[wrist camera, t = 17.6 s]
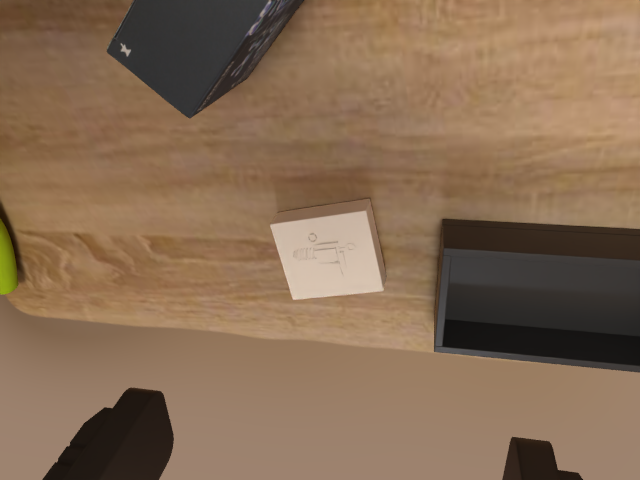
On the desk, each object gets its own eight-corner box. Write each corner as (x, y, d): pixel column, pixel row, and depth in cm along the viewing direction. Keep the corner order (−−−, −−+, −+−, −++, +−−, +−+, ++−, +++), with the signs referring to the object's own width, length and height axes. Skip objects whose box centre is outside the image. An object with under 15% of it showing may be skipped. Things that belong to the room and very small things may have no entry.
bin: (659, 336, 40) (682, 377, 37) (434, 316, 44) (433, 352, 40) (696, 232, 36) (727, 266, 32) (442, 218, 39) (443, 248, 35)
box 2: (180, 55, 38) (160, 61, 35) (330, 16, 34) (321, 20, 32) (258, 289, 46) (247, 309, 43) (386, 275, 42) (382, 296, 40)
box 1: (248, 80, 37) (187, 122, 28) (184, 24, 36) (100, 49, 27) (317, -14, 33) (272, 0, 24) (247, -79, 32) (174, -90, 23)
